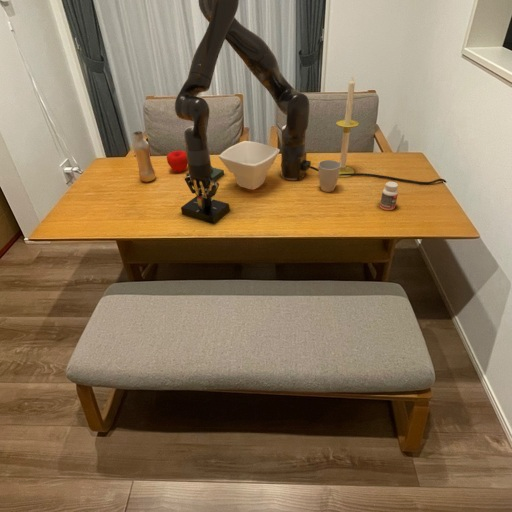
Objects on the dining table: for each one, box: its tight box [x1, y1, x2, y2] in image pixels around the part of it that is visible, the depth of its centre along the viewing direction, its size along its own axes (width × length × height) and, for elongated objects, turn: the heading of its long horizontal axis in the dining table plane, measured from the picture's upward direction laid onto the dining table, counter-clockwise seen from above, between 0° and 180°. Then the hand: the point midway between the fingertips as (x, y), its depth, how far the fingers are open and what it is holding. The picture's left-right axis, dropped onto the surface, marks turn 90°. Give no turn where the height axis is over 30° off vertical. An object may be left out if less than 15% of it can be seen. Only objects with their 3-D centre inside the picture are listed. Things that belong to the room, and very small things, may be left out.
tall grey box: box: [197, 193, 212, 210], centre depth 136 cm, size 6×2×4 cm, turn 149°
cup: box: [317, 159, 341, 193], centre depth 147 cm, size 8×8×10 cm
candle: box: [335, 75, 360, 178], centre depth 149 cm, size 10×10×38 cm
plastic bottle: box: [132, 130, 156, 183], centre depth 155 cm, size 6×7×20 cm
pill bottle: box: [379, 181, 399, 211], centre depth 135 cm, size 5×5×9 cm
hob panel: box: [180, 195, 231, 225], centre depth 138 cm, size 14×10×3 cm
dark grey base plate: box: [185, 165, 225, 186], centre depth 160 cm, size 12×10×4 cm
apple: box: [166, 150, 188, 173], centre depth 165 cm, size 9×9×8 cm
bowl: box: [218, 140, 281, 191], centre depth 150 cm, size 19×19×14 cm
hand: (204, 205), depth 137 cm, fingers closed, pressing on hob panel
